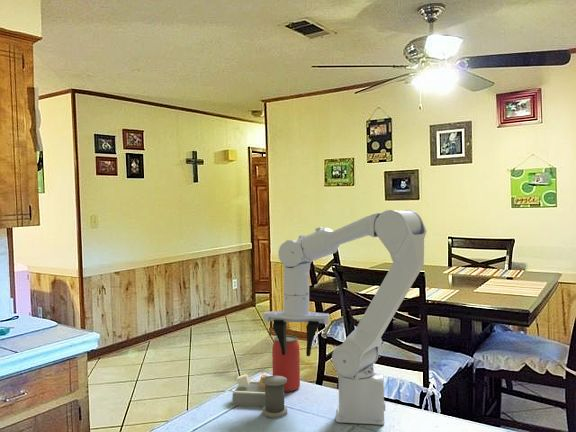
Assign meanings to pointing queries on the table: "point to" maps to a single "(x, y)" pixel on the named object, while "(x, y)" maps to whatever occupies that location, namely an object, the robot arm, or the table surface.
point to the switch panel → (250, 395)
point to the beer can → (287, 362)
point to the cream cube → (243, 380)
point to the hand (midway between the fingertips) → (296, 354)
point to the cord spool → (274, 396)
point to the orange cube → (261, 380)
